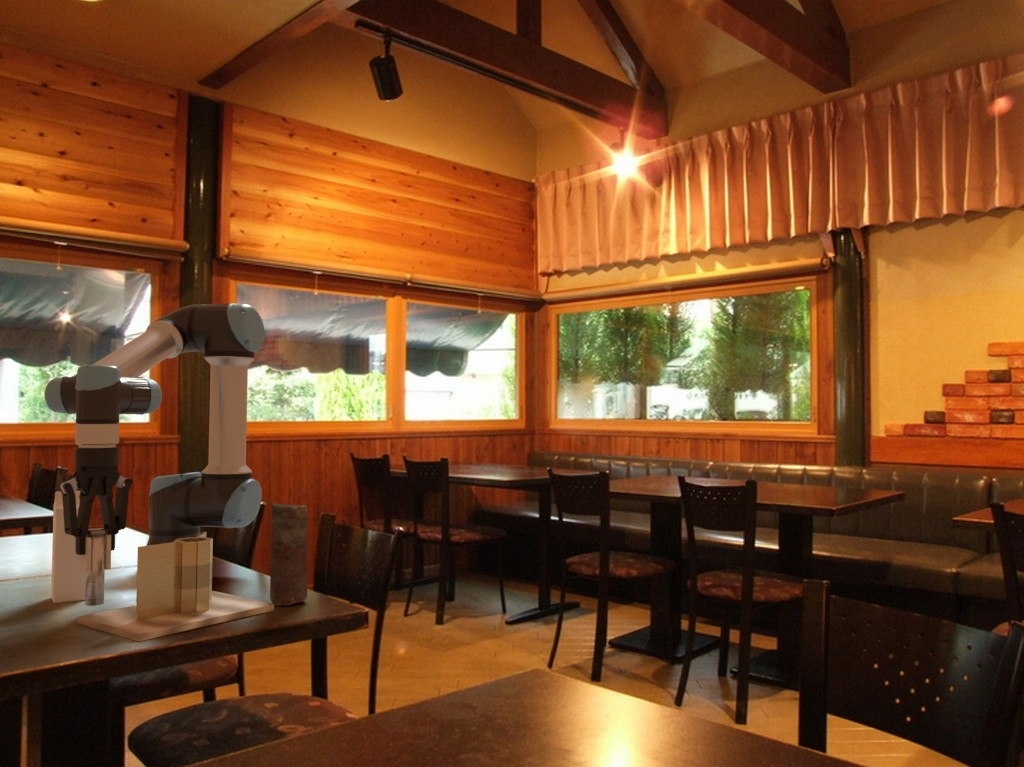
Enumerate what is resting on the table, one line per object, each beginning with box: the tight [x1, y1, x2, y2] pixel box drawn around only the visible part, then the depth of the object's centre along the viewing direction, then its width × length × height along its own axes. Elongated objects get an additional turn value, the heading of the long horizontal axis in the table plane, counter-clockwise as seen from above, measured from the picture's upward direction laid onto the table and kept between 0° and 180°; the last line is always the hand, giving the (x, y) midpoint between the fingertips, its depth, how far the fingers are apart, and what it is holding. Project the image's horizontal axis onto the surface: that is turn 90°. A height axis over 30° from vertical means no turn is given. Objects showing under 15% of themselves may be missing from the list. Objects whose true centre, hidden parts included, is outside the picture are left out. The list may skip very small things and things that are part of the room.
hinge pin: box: [84, 527, 106, 607], centre depth 159 cm, size 4×4×14 cm
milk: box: [50, 490, 86, 604], centre depth 172 cm, size 6×6×22 cm
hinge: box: [136, 531, 214, 620], centre depth 159 cm, size 19×11×13 cm, turn 144°
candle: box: [269, 503, 309, 607], centre depth 170 cm, size 8×7×20 cm
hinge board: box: [76, 590, 275, 642], centre depth 158 cm, size 28×20×1 cm
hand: (95, 569), depth 159 cm, fingers closed on hinge pin, 3 cm apart
